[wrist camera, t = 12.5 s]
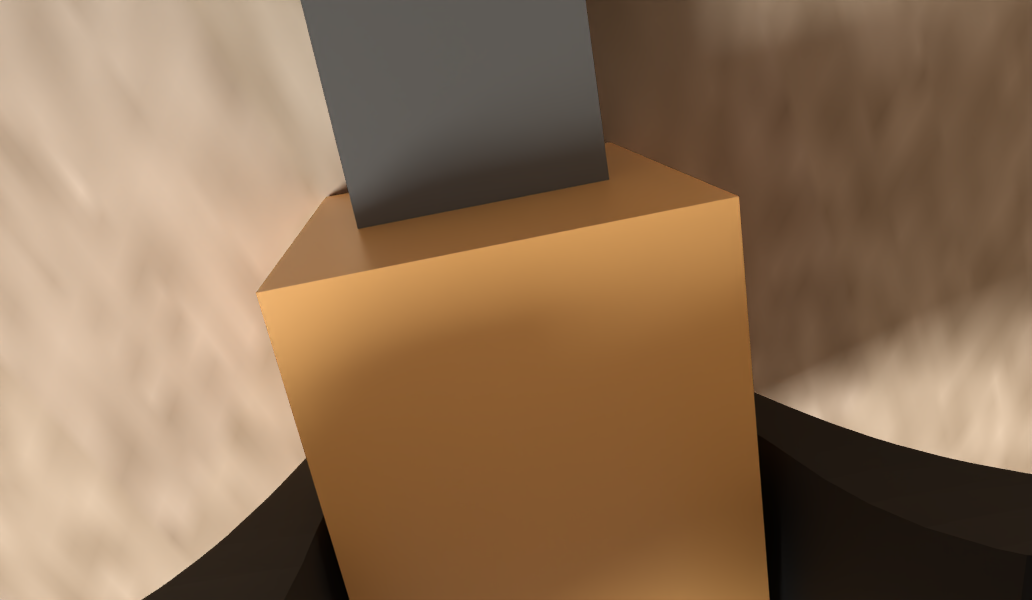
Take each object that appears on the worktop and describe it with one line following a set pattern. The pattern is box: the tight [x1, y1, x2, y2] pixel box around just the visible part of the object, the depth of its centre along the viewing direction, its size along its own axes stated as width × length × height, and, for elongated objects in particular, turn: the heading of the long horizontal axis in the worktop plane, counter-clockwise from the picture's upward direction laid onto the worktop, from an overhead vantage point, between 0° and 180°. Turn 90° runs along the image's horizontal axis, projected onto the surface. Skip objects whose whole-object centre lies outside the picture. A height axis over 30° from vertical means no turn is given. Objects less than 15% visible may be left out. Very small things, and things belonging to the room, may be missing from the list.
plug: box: [256, 0, 770, 600], centre depth 8 cm, size 16×4×5 cm, turn 10°
